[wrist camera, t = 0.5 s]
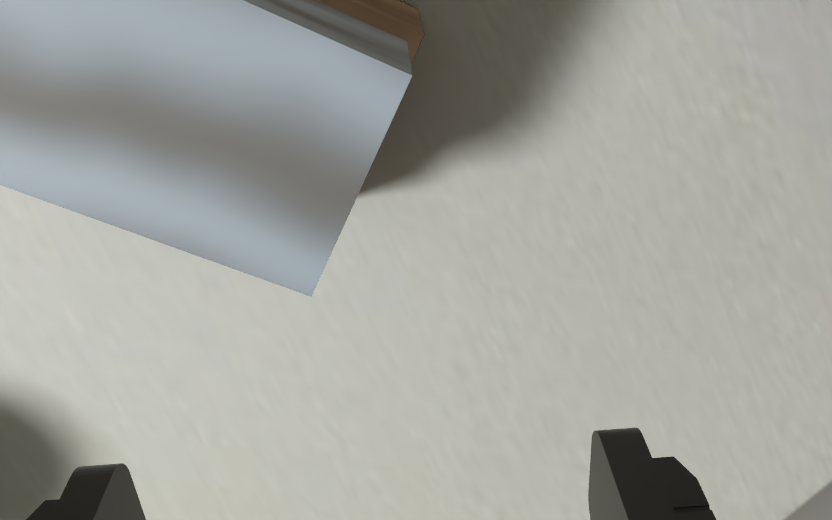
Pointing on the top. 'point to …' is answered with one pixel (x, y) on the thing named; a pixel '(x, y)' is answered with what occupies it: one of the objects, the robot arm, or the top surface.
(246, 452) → the top surface
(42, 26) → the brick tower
